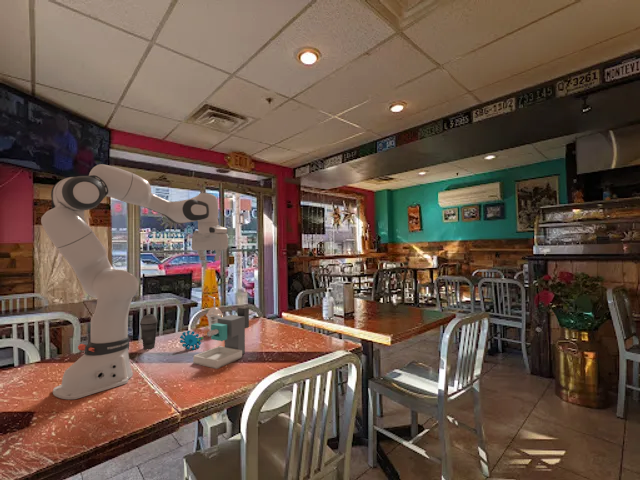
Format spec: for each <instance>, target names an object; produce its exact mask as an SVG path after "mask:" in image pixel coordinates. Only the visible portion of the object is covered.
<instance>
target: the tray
mask: <svg viewBox="0 0 640 480" xmlns="http://www.w3.org/2000/svg"><path fill="white" fill-rule="evenodd" d="M242 358H243V354H242V350H238V349H233V348H228V347H225V346H221V345H219V346H216V347H213V348H210V349H208V350H205V351H202V352H200V353H197V354H194V355H193V358H192V359H193V361H192V362H193V364H194V365H199V366H203V367H206V368H207V367H208V368H211V369H215V370H218V369H220V368H222V367H225V366H226V365H227V366H228V365H229V364H231V363H233V362H235V361H238V360H239V359H242Z"/></svg>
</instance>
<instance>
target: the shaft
mask: <svg viewBox="0 0 640 480" xmlns="http://www.w3.org/2000/svg"><path fill="white" fill-rule="evenodd" d="M249 308H250V307H248V306H239V307H237V316H244V317H245V329H248V328H249V327H250V320H249V319H250V313H249V311H250V309H249ZM206 334H207V335H206V336H207V337H210V338H211V336H213V335H216V334H219V329H215V330H212V331H210V330H209V331H207V332H206Z"/></svg>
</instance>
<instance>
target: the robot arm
mask: <svg viewBox="0 0 640 480" xmlns="http://www.w3.org/2000/svg"><path fill="white" fill-rule="evenodd" d="M50 193H51V194H50V196H51V197H50V198H51V209H49V210H47V211H46V212H45V213H44V214H43V215H42V216H41V218H40V223H41V226H42V228H43V229H44V231H45V234H46V235H47V237H48V238H49V240H50V242H51V243H52V244H53V245H54V247H55V248H56V249H57V250H58V252H59V253H60V254H61V255H62V257H63V258H64V260H65V261H67V263H68V264H69V266H70V267H71V268H72V269H73V272H74V273H75V275H76V278H77V279H78V281H79V282H80V284H81V287H82V289H83V291H84V292H85V293H86V294H87V295H89V296H90V297H91V298H93V299H97V300H96V305H95V310H94V313H93V315H92V316H91V319H90V340H89V342H88V343H87V344H84V343H81V344H78V346H77V350H79V351H84V354H83V355H82V356H80V357H79V358H78V359H77V360H76V361H75V362H74V363H72V364H71V365H70V366H69V367H68V368H67V369H66V370H65V371H64V373H63V375H62V379H61V384H60V385H57V386H54V387H53V389H52V394H53V396H54V397H56V398H59V399H62V400H77V399H80V398H84V397H87V396H91V395H93V394H96V393H99V392H103V391H106V390H109V389H113V388H115V387H116V388H117V387H119V386H124V385H125V384H127V383H128V382H129V379H130V378H132V377H133V375H134V373H133V370H132V367H131V361H130V355H129V350H130V336H129V334H128V333H129V332H128V331H129V329H128V327H129V312H130V308H131V303H132V300H133V298H134V296H135V295H136V294H137V293H138V290H139V286H140V285H139V280H138V278H137V276H135V274H132V273H130V272H129V271H127V270H123V269H116V268H115V267H113V266H112V264H111V262H110V261H109V258H108V255H107V248H106V247H105V246H104V245H103V243H102V242H101V240H100V239H99V238H98V236H97V235H96V234H95V232H94V231H93V229H92V228H91V227H90V225H89V224H88V223H87V220H86V218H85V211H89V210H92V209H95V208H97V207H98V206H99V205H100V204H101V203H102V202H103V200H104V199H105V198H106V197H108V198H112V199H114V200H118V201H121V202H122V203H127V204H130V205H135V206H140V207H143V208H146V209H148V210H150V211H153V212H156V213H158V214H161V215H162V216H164V217H165V218H166V219H168V220H169V221H170V222H172V223H174V224H177V225H181V224H184V223H185V224H186V223H193V222H197V229H196V230H195V231H194V232H192V236H191V251H197V255H198V256H199V261H205V260H206V256H205V255H204V251H215V256H213V258H214V259H213V260H214V261H218V262H219V261H220V259H221V258H220V256H221V254H222V251H226V250H228V248H229V238H228V237H229V236H228V234H227V233H228V228H227V227H224V226H221V225H219V223H220V222H219V218H218V217H219V203H218V198H217V196H216V195H215V194H213V193H209V192H200V193H199V194H197V195H196V196H193V197H191V198H187V199H183V200H179V201H177V200H176V201H170V200H167V199H165V198H163V197H161V196H158V195H156V194H154V193H153V192H152V187H151V184H150V182H149V181H148V180H147V179H145V178H144V177H142V176H140V175H138V174H136V173H134V172H131V171H128V170H125V169H122V168H120V167H117V166H114V165H113V166H112V165H108V164H103V163H102V164H101V163H99V164H97V165H95V166H94V167H92V169H90V172H89V174H88V175H78V176H69V177H66V178H64V179H61V180H59V181H57V182H56V183H54V185H53V186H52V189H51V192H50Z"/></svg>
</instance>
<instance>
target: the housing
mask: <svg viewBox="0 0 640 480" xmlns="http://www.w3.org/2000/svg"><path fill="white" fill-rule="evenodd" d="M218 323H220V324H226V325H227V340H224V347H228V348H233V349H238V350H242V355H244V354H246V336H245V335H246V328H245V317H244V316H238V315H237V314H236V315H235V314H229V315H226V316H221V318H218Z"/></svg>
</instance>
